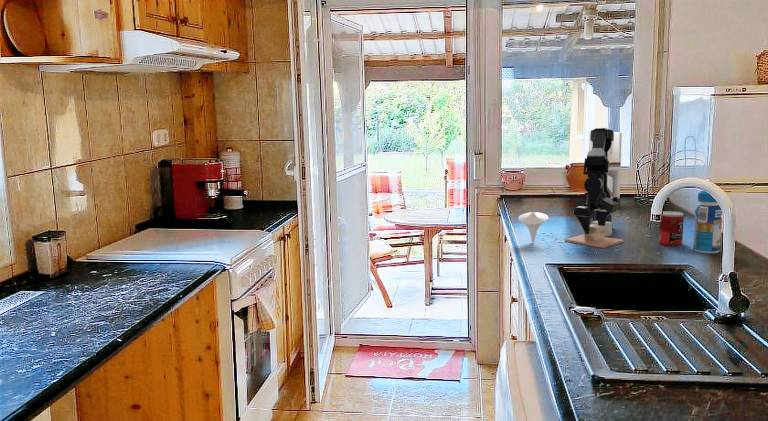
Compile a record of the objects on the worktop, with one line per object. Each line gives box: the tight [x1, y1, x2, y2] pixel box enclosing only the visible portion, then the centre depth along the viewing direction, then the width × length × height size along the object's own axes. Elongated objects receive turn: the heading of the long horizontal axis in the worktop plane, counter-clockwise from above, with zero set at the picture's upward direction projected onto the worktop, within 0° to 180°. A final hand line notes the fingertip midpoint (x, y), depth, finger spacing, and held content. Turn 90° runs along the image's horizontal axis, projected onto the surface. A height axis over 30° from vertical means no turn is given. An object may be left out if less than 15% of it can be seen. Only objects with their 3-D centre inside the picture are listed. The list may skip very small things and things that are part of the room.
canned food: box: [658, 210, 685, 247], centre depth 234 cm, size 8×8×11 cm
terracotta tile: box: [564, 234, 625, 249], centre depth 242 cm, size 16×13×1 cm
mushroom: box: [517, 210, 549, 244], centre depth 242 cm, size 10×11×12 cm
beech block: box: [583, 223, 605, 242], centre depth 241 cm, size 5×5×5 cm
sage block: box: [591, 221, 613, 237], centre depth 253 cm, size 6×4×5 cm, turn 40°
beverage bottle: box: [692, 190, 723, 254], centre depth 221 cm, size 8×8×20 cm
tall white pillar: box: [588, 131, 623, 198], centre depth 317 cm, size 11×11×35 cm
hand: (594, 232), depth 241 cm, fingers open, 9 cm apart
